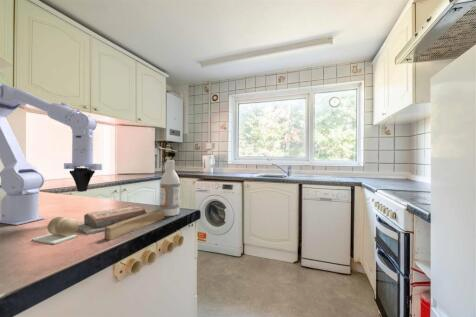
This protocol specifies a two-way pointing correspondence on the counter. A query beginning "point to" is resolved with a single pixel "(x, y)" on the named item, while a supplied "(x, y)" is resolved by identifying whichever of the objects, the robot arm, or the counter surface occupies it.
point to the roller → (63, 226)
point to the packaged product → (108, 218)
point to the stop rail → (133, 224)
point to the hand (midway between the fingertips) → (82, 191)
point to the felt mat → (53, 238)
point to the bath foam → (170, 190)
